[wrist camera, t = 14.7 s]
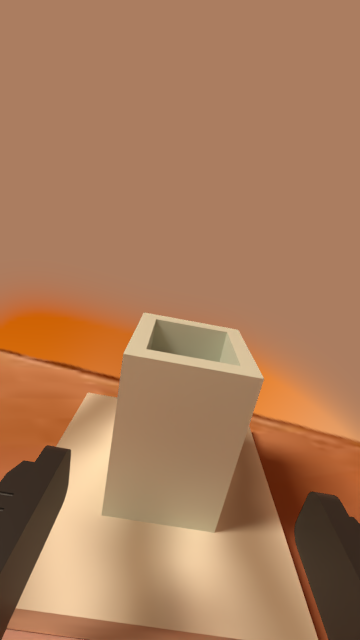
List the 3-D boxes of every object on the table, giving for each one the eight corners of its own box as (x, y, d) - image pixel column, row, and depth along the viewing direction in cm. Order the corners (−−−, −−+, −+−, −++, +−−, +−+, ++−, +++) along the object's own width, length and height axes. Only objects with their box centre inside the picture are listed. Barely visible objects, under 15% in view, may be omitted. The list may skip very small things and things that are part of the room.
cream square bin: (206, 447, 22) (238, 329, 19) (214, 532, 16) (263, 378, 13) (125, 434, 21) (144, 312, 18) (101, 515, 15) (123, 353, 12)
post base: (243, 432, 27) (268, 353, 24) (310, 669, 12) (390, 536, 10) (86, 406, 26) (95, 321, 23) (-34, 623, 12) (-48, 467, 9)
